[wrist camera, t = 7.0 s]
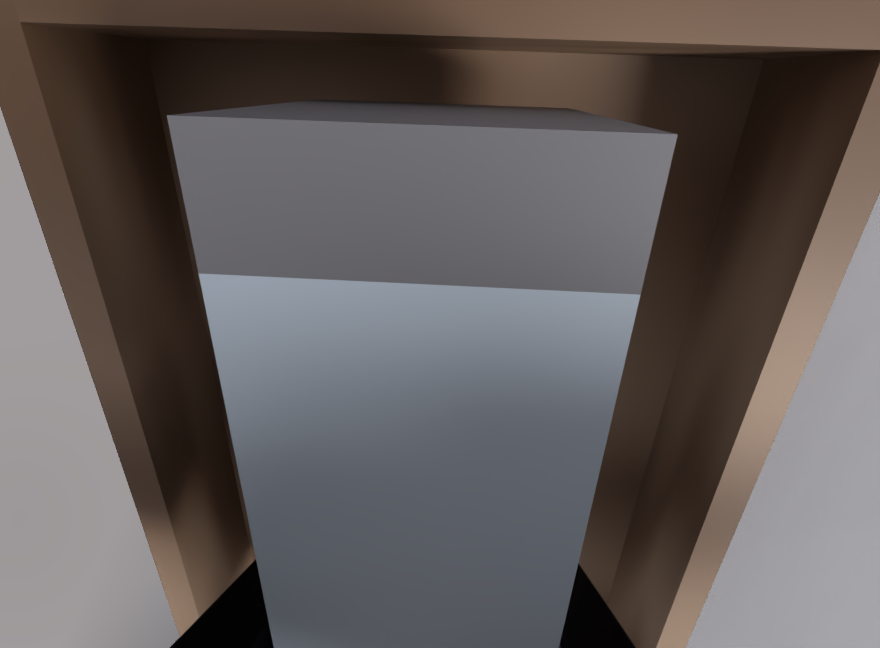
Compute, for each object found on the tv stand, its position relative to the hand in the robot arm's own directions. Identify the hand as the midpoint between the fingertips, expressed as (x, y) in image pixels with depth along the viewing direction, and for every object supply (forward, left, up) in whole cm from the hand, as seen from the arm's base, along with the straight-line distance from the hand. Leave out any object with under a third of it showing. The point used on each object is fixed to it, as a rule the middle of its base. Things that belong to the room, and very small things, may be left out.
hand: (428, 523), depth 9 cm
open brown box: (0, 0, -3) cm, 3 cm away
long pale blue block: (0, 0, -1) cm, 1 cm away
